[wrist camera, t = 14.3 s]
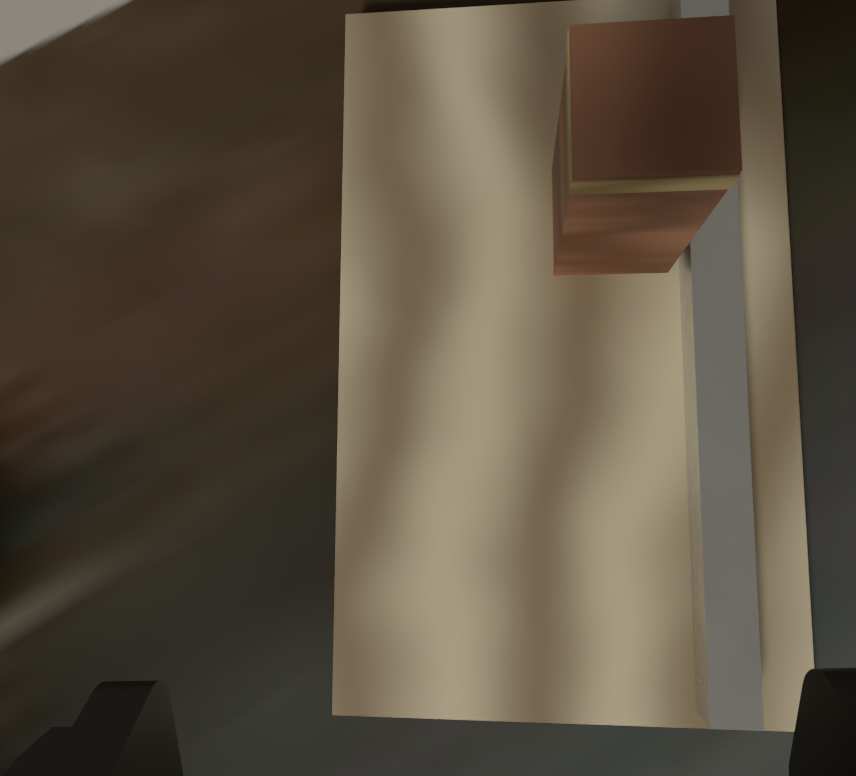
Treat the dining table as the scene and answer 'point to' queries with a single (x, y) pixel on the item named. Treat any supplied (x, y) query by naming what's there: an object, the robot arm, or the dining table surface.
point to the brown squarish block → (642, 141)
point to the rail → (719, 462)
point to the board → (536, 396)
